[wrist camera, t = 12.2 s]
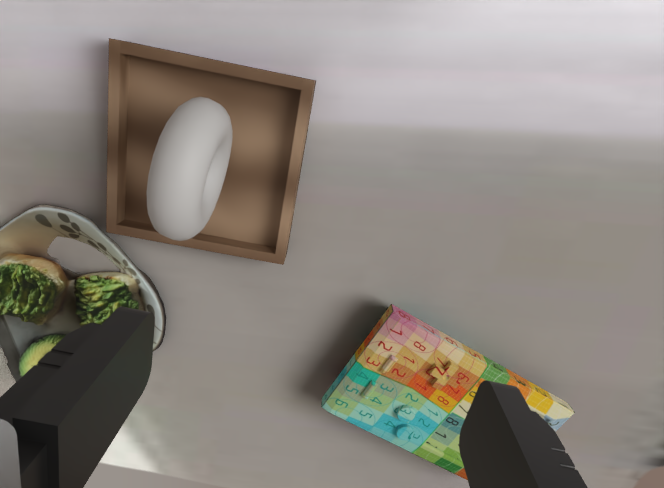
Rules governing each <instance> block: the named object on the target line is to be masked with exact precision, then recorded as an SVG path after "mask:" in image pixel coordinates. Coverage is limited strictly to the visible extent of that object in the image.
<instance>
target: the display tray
mask: <svg viewBox="0 0 664 488" xmlns="http://www.w3.org/2000/svg"><path fill="white" fill-rule="evenodd" d="M315 84H316V81H315V80H310V79H305V78H300V77H296V76H291V75H286V74H281V73H276V72H271V71H267V70H262V69H257V68H252V67H247V66H242V65H237V64H233V63H228V62H223V61H218V60H213V59H208V58H204V57H199V56H194V55H189V54H184V53H179V52H174V51H170V50H165V49H160V48H155V47H150V46H145V45H141V44H136V43H131V42H126V41H121V40H115V39H110V38H109V76H108V145H107V215H106V232H108V233H114V234H119V235H125V236H130V237H136V238H141V239H146V240H152V241H157V242H163V243H168V244H174V245H179V246H185V247H190V248H195V249H201V250H206V251H212V252H217V253H223V254H228V255H234V256H239V257H244V258H250V259H255V260H261V261H266V262H272V263H277V264H284V261H285V257H286V254H287V249H288V243H289V237H290V231H291V225H292V219H293V213H294V208H295V202H296V196H297V190H298V184H299V178H300V172H301V166H302V160H303V155H304V149H305V143H306V137H307V131H308V125H309V119H310V113H311V107H312V101H313V96H314V90H315ZM197 97H204V98H209V99H211V100H213V101H215V102H217V103H219V104H220V105H222V106H223V107H224V108H225V109H226V111H227V113H228V115H229V116H230V120H231V125H232V130H233V132H232V146H231V154H230V158H229V163H228V168H227V172H226V175H225V179H224V183H223V186H222V189H221V192H220V195H219V198H218V201H217V203H216V206H215V208H214V211H213V213H212V215H211V217H210V219H209V221H208V222H207V224H206V225H205V227H204V228H203V229H202V230H201V231H200V233H198V234H197V235H196V236H194V237H192V238H190V239H188V240H183V241H177V240H172V239H170V238H168V237H165V236H163V235H161V234H160V233H159V232H157V231H156V230H155V229H154V227H153V225H152V223H151V220H150V218H149V215H148V210H147V194H146V192H147V184H148V175H149V171H150V166H151V162H152V158H153V154H154V151H155V148H156V145H157V143H158V140H159V137H160V135H161V133H162V131H163V129H164V127H165V125H166V123H167V121H168V120H169V118H170V117H171V116H172V114H173V113H174V112H175V110H176V109H177V108H178V106H180V105H182V104H183V103H185V102H187V101H188V100H190V99H192V98H197Z"/></svg>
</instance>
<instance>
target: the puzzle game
mask: <svg viewBox="0 0 664 488" xmlns="http://www.w3.org/2000/svg"><path fill="white" fill-rule="evenodd" d="M485 380H487V381H492V382H497V383H502V384H507V385H512V386H516V387H517V388H518V389H519V390H520V392H521V393H522V395H523V397H524V399H525V401H526V403H527V404H528V406H529V408H530V410H531V411H534V412H537V413H538V414H539V415H540V416H541V417H542V418H543V419H544V420H545V421H546V422H547V423H548V424H549V425H550V426H551V427H552V429H553V430H554V431H555V432H556V431H557V430H558V429H559V428H560V427H561V426H562V425H563V424H564V423H565V422H566V421H567V420H568V419H569V418H570V417H571V416H572V415H573V414H574V413H575V412H574V411H573V409H572V408H571V407H570V405H569V404H567V403H566V402H565V401H563V400H561V399H559V398H558V397H556V396H554V395H552V394H551V393H549V392H547V391H545V390H543V389H542V388H540V387H538V386H536V385H535V384H533V383H531V382H529V381H527V380H526V379H524V378H522V377H520V376H519V375H517V374H515V373H513V372H511V371H510V370H508V369H506V368H504V367H503V366H501V365H499V364H497V363H495V362H494V361H492V360H490V359H488V358H487V357H485V356H483V355H481V354H479V353H478V352H476V351H474V350H472V349H471V348H469V347H467V346H465V345H463V344H462V343H460V342H458V341H456V340H455V339H453V338H451V337H449V336H447V335H446V334H444V333H442V332H440V331H439V330H437V329H435V328H433V327H431V326H430V325H428V324H426V323H424V322H423V321H421V320H419V319H417V318H415V317H414V316H412V315H410V314H408V313H407V312H405V311H403V310H401V309H399V308H398V307H396V306H394V305H392V304H391V305H390V306H389V308H388V309H387V310H386V312H385V313H384V314H383V316H382V317H381V318H380V320H379V321H378V323H377V324H376V325H375V327H374V328H373V329H372V331H371V332H370V333H369V335H368V336H367V337H366V339H365V340H364V342H363V343H362V344H361V346H360V347H359V348H358V350H357V351H356V352H355V354H354V355H353V356H352V358H351V359H350V361H349V362H348V363H347V365H346V366H345V367H344V369H343V370H342V371H341V373H340V374H339V375H338V377H337V378H336V380H335V381H334V382H333V384H332V385H331V386H330V388H329V389H328V390H327V392H326V393H325V394H324V396H323V397H322V406H321V407H322V408H324V409H325V410H327V411H328V412H329V413H331V414H333V415H335V416H338V417H340V418H342V419H344V420H346V421H348V422H350V423H352V424H354V425H356V426H358V427H360V428H362V429H364V430H366V431H368V432H370V433H372V434H374V435H376V436H378V437H380V438H383V439H385V440H387V441H389V442H391V443H393V444H395V445H397V446H399V447H401V448H403V449H405V450H407V451H409V452H411V453H413V454H415V455H417V456H419V457H421V458H423V459H425V460H428V461H430V462H432V463H434V464H436V465H438V466H440V467H442V468H444V469H446V470H448V471H450V472H452V473H454V474H456V475H458V476H460V477H462V478H464V479H466V480H468V479H467V476H466V472H465V469H464V465H463V462H462V459H461V455H460V450H459V437H460V431H461V428H462V425H463V423H464V420H465V418H466V415H467V413H468V411H469V408H470V406H471V404H472V401H473V399H474V397H475V394H476V392H477V390H478V387H479V385H480V384H481V383H482V382H483V381H485Z"/></svg>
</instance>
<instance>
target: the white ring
mask: <svg viewBox="0 0 664 488" xmlns="http://www.w3.org/2000/svg"><path fill="white" fill-rule="evenodd" d="M232 132H233V130H232V125H231V120H230V116H229V115H228V113H227V111H226V109H225V108H224V107H223V106H222V105H220V104H219V103H217V102H215V101H213V100H211V99H209V98H204V97H197V98H192V99H190V100H188V101H187V102H185V103H183V104H182V105H180V106H178V108H177V109H176V110H175V112H174V113H173V114H172V116H171V117H170V118H169V120H168V121H167V123H166V125H165V127H164V129H163V131H162V133H161V135H160V137H159V140H158V143H157V145H156V148H155V151H154V154H153V158H152V162H151V166H150V171H149V175H148V184H147V192H146V194H147V210H148V215H149V218H150V220H151V223H152V225H153V227H154V229H155V230H156V231H157V232H159V233H160V234H161V235H163V236H165V237H168V238H170V239H172V240H177V241H183V240H188V239H190V238H192V237H194V236H196V235H197V234H198V233H200V231H201V230H202V229H203V228H204V227H205V225H206V224H207V222H208V221H209V219H210V217H211V215H212V213H213V211H214V208H215V206H216V203H217V201H218V198H219V195H220V192H221V189H222V186H223V183H224V179H225V175H226V172H227V168H228V163H229V158H230V154H231V146H232Z"/></svg>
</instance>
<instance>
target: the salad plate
mask: <svg viewBox="0 0 664 488" xmlns="http://www.w3.org/2000/svg"><path fill="white" fill-rule="evenodd" d="M57 236H60V237H67V238H72V239H76V240H78V241H81V242H83V243H86V244H89V245H91V246H92V247H94V248H96V249H97V250H98V251H100V252H102V253H103V254H104V255H105V256H107V257H108V258H109V259H110V260H111V261H112V262H113V263H114V264H115V265H116V266H117V267H118V268H119V269H120V272H96V273H90V274H81V275H80V274H76V273H74V272H72V271H70V270H68V269H65V268H64V267H62V266H61V265H60V262H59V260H58V259H56V258H53V257H51V256H49V255H48V254H47V249H48V247H49V245H50V244H51V242H52V241H53V240H54V239H55V238H56V237H57ZM121 306H122V307H127V308H132V309H137V310H142V311H147V312H152V313H154V316H155V327H154V340H153V351H154V350H156V349H157V348H159V346H160V345H161V343H162V341H163V338H164V335H165V326H166V315H165V308H164V304H163V302H162V300H161V298H160V295H159V293H158V291H157V289H156V287H155V285H154V284H153V282H152V281H151V279H150V278H149V277H148V276H147V275H146V274H145V273H144V272H142V271H141V270H139V269H138V268H137V267H136V266H135V265H134V263H133V262H132V261H131V260H130V259H129V258H128V257H127V255H126V254H125V253H124V252H123V251H122V249H121V248H120V247H119V246H118V245H117V244H116V243H115V242H114V241H113V240H112V239H111V238H109V237H108V236H107V235H106V234H105V233H104V232H102V231H101V230H100V229H99V228H98V227H97V226H96V224H95V223H94V222H93V221H92V220H90V219H88V218H87V217H85V216H83V215H81V214H79V213H77V212H75V211H73V210H70V209H65V208H61V207H56V206H49V205H38V206H35V207H32V208H30V209H28V210H27V211H26V212H24V213H23V214H21V215H19V216H17V217H16V218H14V219H12V220H11V221H9V222H8V223H7V224H5V225H4V226H3V227H1V228H0V347H1V348H2V349H3V351H4V355H5V356H6V358H7V359H8V363H7V365H8V367H9V369H10V371H11V373H12V375H13V377H14V379H15V381H16V382H17V381H18V380H19V379H20V378H21V377H22V376H23V375H25V374H26V373H27V372H28V371H29V370H30V369H31V368H32V367H33V366H34V365H37V364H38V361H39V360H40V359H41V358H42V357H44V356H45V355H46V354H47V353H48V352H51V349H52V348H53V347H54V346H55V345H56V344H57V343H58V342H59V341H60V340H61V339H62V338H64V337H65V336H66V335H67V334H68V333H70V332H72V331H74V330H76V329H78V328H80V327H83V326H85V325H87V324H89V323H94V324H99V325H102V323H103V322H104V321H105V320H106V319H107V318H108V317H109V316H110V315H111V314H112V313H113V312H114V311H115V310H116V309H117V308H118V307H121Z"/></svg>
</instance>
